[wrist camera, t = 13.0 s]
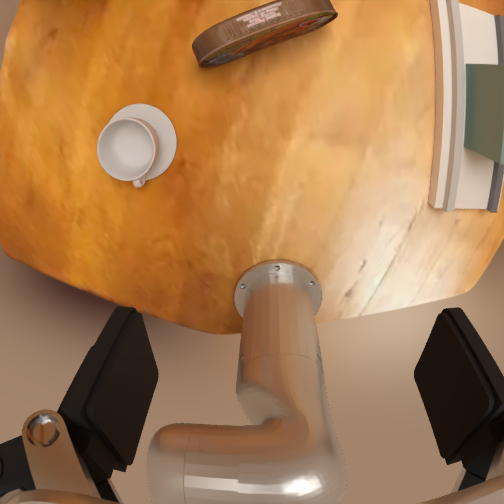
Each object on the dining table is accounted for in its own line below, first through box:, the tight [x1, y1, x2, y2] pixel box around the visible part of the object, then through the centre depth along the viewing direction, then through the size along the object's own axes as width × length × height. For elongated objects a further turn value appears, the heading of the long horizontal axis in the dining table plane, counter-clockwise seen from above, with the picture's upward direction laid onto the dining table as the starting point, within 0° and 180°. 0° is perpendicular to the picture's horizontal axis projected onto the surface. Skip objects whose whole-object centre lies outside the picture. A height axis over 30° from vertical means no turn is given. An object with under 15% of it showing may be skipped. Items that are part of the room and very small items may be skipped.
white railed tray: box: [428, 0, 504, 213], centre depth 29 cm, size 28×12×3 cm, turn 4°
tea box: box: [463, 64, 504, 165], centre depth 26 cm, size 5×11×8 cm, turn 4°
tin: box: [192, 0, 338, 68], centre depth 26 cm, size 15×3×8 cm, turn 114°
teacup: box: [97, 104, 177, 188], centre depth 34 cm, size 10×10×5 cm
